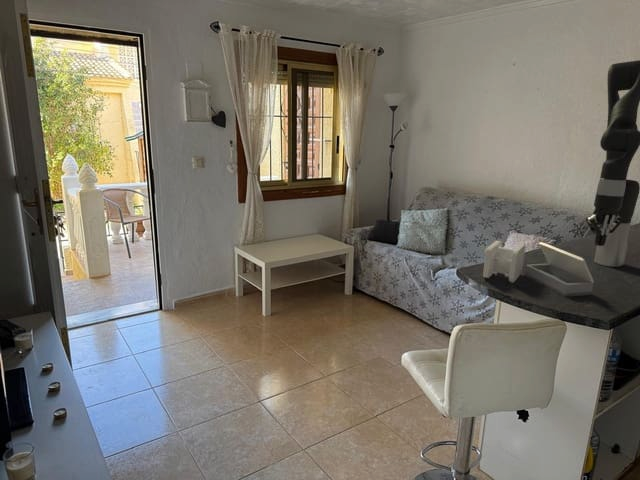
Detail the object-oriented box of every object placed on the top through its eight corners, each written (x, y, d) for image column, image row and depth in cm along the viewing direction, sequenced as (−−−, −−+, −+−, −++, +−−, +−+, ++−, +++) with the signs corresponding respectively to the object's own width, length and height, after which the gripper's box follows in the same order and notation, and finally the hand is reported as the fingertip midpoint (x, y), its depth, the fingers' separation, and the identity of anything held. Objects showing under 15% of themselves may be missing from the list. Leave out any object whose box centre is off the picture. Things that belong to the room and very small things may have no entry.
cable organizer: (512, 286, 151) (517, 253, 148) (480, 279, 157) (484, 247, 154) (522, 274, 163) (526, 243, 160) (492, 268, 169) (496, 238, 165)
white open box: (547, 273, 164) (549, 263, 163) (591, 294, 145) (593, 283, 144) (523, 275, 162) (525, 264, 161) (564, 296, 143) (566, 284, 142)
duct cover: (548, 263, 163) (550, 261, 163) (592, 283, 144) (594, 281, 144) (538, 243, 159) (541, 241, 160) (582, 260, 141) (584, 258, 141)
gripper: (617, 191, 149) (606, 241, 153) (583, 191, 146) (573, 242, 150) (637, 195, 142) (625, 248, 146) (602, 195, 139) (591, 249, 143)
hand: (599, 245), depth 148 cm, fingers closed
